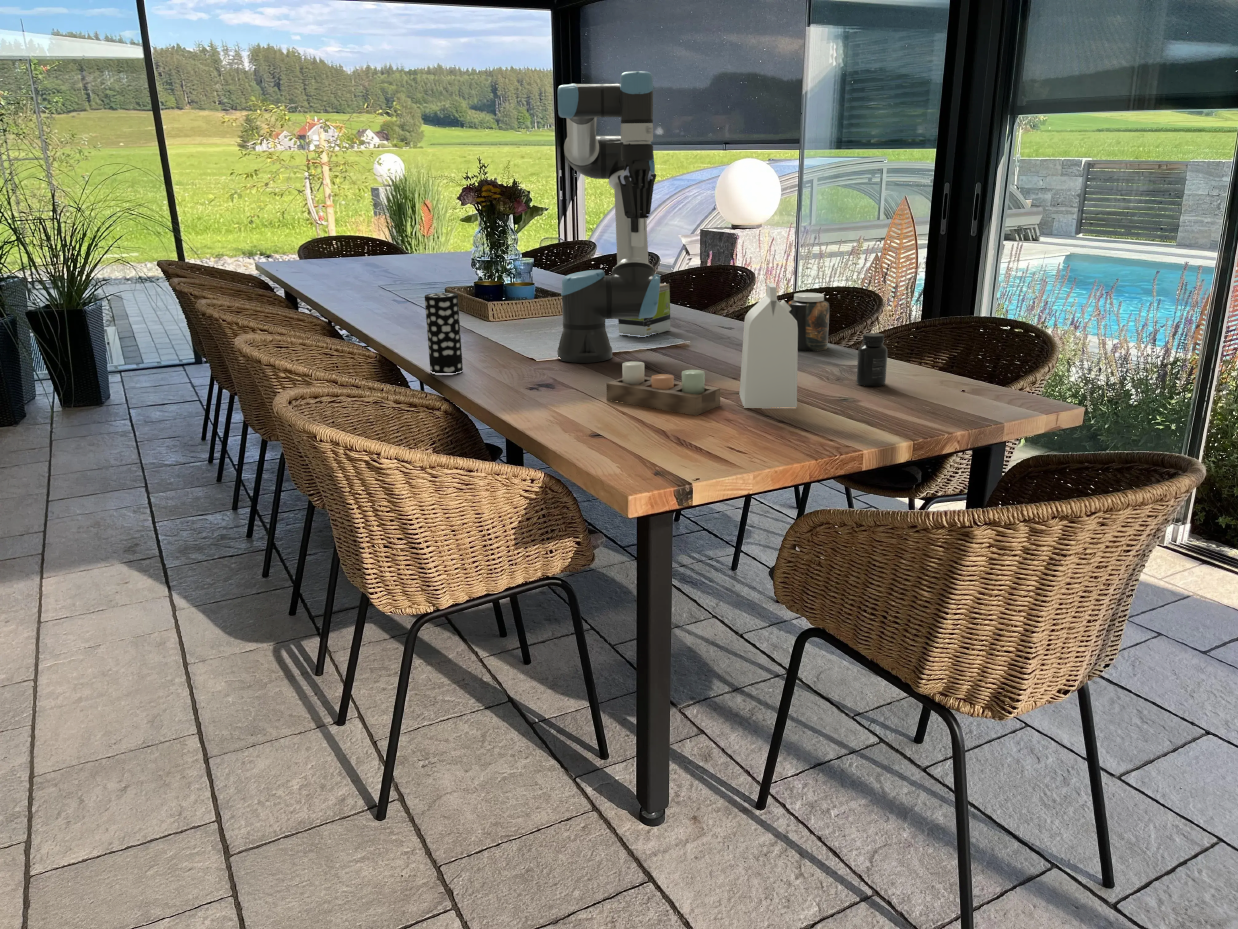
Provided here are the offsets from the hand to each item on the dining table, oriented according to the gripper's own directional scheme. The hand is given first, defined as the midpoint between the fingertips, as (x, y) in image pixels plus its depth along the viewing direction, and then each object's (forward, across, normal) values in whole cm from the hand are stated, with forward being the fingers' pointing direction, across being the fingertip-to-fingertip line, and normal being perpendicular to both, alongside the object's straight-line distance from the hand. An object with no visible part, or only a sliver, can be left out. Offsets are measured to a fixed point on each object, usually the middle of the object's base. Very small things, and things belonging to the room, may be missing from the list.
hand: (637, 246), depth 228 cm
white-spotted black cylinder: (+32, -24, +44) cm, 60 cm away
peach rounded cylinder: (+31, -19, -20) cm, 41 cm away
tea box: (+33, +49, +32) cm, 67 cm away
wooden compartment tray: (+32, -19, -20) cm, 42 cm away
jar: (+33, +55, -20) cm, 67 cm away
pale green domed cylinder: (+29, -19, -28) cm, 44 cm away
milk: (+32, -5, -39) cm, 51 cm away
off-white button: (+29, -19, -12) cm, 37 cm away
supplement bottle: (+32, +23, -52) cm, 65 cm away
